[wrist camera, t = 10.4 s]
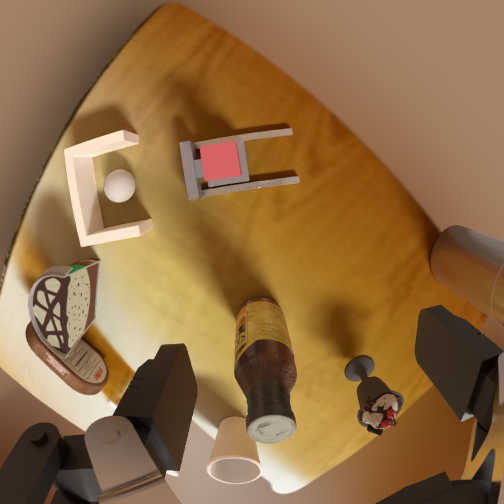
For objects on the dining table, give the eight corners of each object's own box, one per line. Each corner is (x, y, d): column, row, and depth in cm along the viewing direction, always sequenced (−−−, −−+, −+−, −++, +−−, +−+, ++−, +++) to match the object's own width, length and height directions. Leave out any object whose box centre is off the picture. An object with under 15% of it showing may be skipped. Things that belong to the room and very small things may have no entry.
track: (290, 129, 34) (291, 128, 33) (298, 182, 36) (299, 182, 35) (183, 145, 34) (181, 145, 34) (191, 198, 36) (190, 199, 35)
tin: (43, 312, 40) (14, 336, 32) (49, 301, 39) (19, 324, 31) (109, 374, 43) (90, 407, 35) (118, 365, 42) (99, 398, 34)
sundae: (364, 343, 42) (405, 408, 27) (385, 365, 43) (425, 427, 28) (331, 370, 43) (358, 441, 28) (354, 390, 44) (383, 457, 29)
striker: (242, 134, 33) (240, 119, 23) (250, 188, 35) (252, 194, 25) (184, 145, 33) (161, 134, 24) (193, 198, 35) (172, 207, 25)
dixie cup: (204, 415, 45) (197, 460, 35) (252, 406, 44) (254, 453, 35) (220, 444, 47) (217, 486, 37) (265, 436, 46) (268, 480, 37)
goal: (138, 134, 34) (123, 129, 29) (153, 227, 37) (140, 235, 32) (83, 151, 34) (63, 149, 29) (98, 238, 37) (81, 247, 32)
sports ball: (145, 186, 36) (134, 187, 32) (124, 207, 36) (111, 211, 32) (127, 162, 35) (114, 162, 31) (106, 184, 35) (92, 186, 31)
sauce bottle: (234, 296, 39) (224, 401, 20) (282, 292, 39) (311, 394, 20) (239, 339, 41) (235, 452, 22) (284, 335, 41) (308, 446, 22)
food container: (66, 238, 37) (24, 257, 27) (101, 249, 37) (63, 272, 28) (62, 313, 40) (28, 344, 30) (95, 326, 40) (64, 362, 31)
